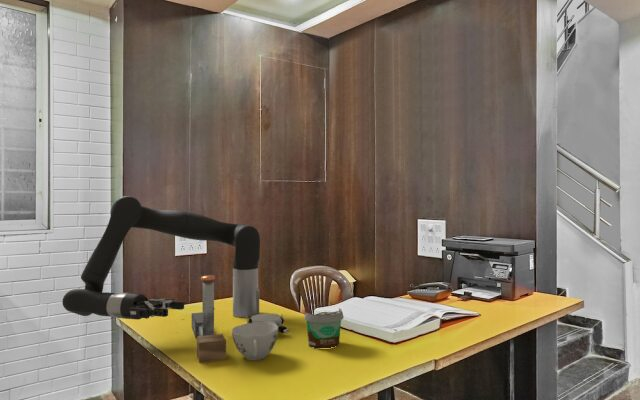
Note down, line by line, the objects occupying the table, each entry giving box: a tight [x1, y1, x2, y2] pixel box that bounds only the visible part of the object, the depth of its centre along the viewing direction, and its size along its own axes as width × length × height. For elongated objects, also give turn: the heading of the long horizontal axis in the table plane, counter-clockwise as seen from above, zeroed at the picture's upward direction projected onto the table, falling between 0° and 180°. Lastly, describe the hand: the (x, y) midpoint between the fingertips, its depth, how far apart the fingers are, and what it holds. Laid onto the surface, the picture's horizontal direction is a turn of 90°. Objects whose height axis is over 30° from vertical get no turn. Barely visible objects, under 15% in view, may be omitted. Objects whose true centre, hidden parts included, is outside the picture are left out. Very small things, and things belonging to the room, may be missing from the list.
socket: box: [196, 333, 227, 364], centre depth 125 cm, size 6×7×5 cm
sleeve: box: [191, 311, 203, 339], centre depth 149 cm, size 13×5×5 cm, turn 21°
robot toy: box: [245, 313, 290, 334], centre depth 148 cm, size 12×4×15 cm
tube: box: [197, 274, 216, 336], centre depth 135 cm, size 22×4×20 cm, turn 21°
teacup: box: [231, 322, 279, 361], centre depth 124 cm, size 15×12×8 cm
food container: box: [303, 308, 344, 349], centre depth 134 cm, size 12×6×10 cm, turn 117°
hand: (175, 309), depth 133 cm, fingers open, 8 cm apart
